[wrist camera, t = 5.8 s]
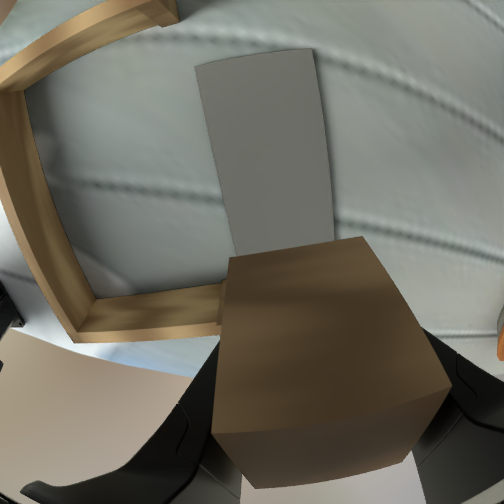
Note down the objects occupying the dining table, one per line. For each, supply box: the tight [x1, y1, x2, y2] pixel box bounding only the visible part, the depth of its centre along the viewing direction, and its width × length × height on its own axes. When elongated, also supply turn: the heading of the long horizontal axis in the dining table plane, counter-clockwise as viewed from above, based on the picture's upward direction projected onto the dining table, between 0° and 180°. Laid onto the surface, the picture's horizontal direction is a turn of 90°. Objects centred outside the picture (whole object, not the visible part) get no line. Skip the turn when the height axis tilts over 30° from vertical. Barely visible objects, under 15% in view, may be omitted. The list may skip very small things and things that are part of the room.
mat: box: [195, 48, 335, 256], centre depth 20 cm, size 7×20×1 cm, turn 10°
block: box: [211, 236, 452, 489], centre depth 8 cm, size 4×4×6 cm
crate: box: [0, 0, 227, 343], centre depth 17 cm, size 14×23×5 cm, turn 10°
